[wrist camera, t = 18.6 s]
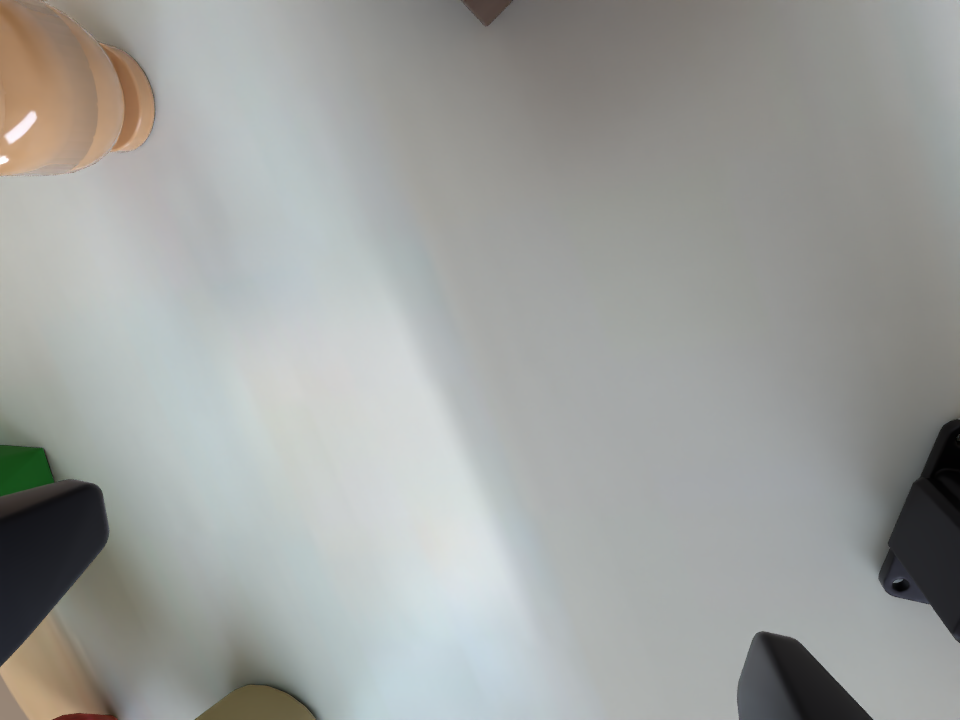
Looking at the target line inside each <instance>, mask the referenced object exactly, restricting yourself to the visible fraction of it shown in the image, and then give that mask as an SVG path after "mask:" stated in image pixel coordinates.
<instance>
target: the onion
mask: <svg viewBox="0 0 960 720" xmlns="http://www.w3.org/2000/svg"><path fill="white" fill-rule="evenodd" d="M53 720H118V719H117V718H116V717H114V716H112V715H99V714H84V713H76V714H68V715H62V716H59V717H57V718H55V719H53Z"/></svg>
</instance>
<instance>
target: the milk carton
mask: <svg viewBox="0 0 960 720" xmlns="http://www.w3.org/2000/svg"><path fill="white" fill-rule="evenodd" d="M51 483H55V482H54V479H53V477H52V474H51V471H50V468H49V465H48V462H47V459H46V456H45V453H44V450H43V448H34V447H21V446H8V445H0V497H1V496H4V495H8V494H12V493H16V492H20V491H24V490H28V489H32V488H35V487H39V486H43V485H47V484H51Z"/></svg>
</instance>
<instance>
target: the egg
mask: <svg viewBox="0 0 960 720" xmlns="http://www.w3.org/2000/svg"><path fill="white" fill-rule="evenodd" d="M154 116H155V105H154V97H153V93H152V90H151V86H150V84H149V81H148V79H147V77H146V75H145V73H144V72H143V70H142V69H141V67H140V66H139V65H138V63H137V62H136V61H135V60H134V59H133V58H132V57H131V56H130V55H128V54H127V53H126V52H124V51H123V50H121V49H119V48H117V47H115V46H112V45H108V44H104V43H100V42H98V41H97V40H96V39H95V38H94V37H93V36H92V35H91V34H90V33H89V32H88V31H87V30H86V29H85V28H83V27H82V26H81V25H80V24H79V23H78V22H77V21H75V20H74V19H72V18H71V17H69V16H68V15H66V14H65V13H63V12H62V11H60V10H58V9H57V8H55V7H53V6H52V5H50V4H48V3H45V2H43V1H40V0H0V176H50V175H58V174H66V173H74V172H76V171H79V170H81V169H84V168H86V167H89V166H91V165H93V164H95V163H97V162H98V161H99V160H100V159H102V158H103V157H104V156H105V155H106V154H108V153H109V152H129V151H132V150H134V149H136V148H138V147H139V146H141V145H142V144H143V143H144V142H145V141H146V139H147V138H148V136H149V134H150V132H151V130H152V127H153V123H154Z"/></svg>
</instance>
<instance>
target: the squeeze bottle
mask: <svg viewBox="0 0 960 720" xmlns="http://www.w3.org/2000/svg"><path fill="white" fill-rule="evenodd" d="M195 720H316V719H315V718H314V716H313V715H312V714H311V713H310V711H309V710H308V709H307V708H306V707H305V706H304V705H303V704H301V703H300V702H299V701H297V700H296V699H294V698H293V697H292V696H290V695H289V694H288V693H285V692H283V691H280V690H277V689H275V688H272V687H270V686H266V685H246V686H243V687H241V688H238V689H236V690H234V691H232V692H231V693H230V694H228V695H227V696H226V697H224V698H223V699H222V700H220V701H219V702H217V703H216V704H215V705H213V706H212V707H211V708H209V709H208V710H207V711H205V712H204V713H203V714H201V715H200V716H199V717H197V718H196V719H195Z"/></svg>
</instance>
